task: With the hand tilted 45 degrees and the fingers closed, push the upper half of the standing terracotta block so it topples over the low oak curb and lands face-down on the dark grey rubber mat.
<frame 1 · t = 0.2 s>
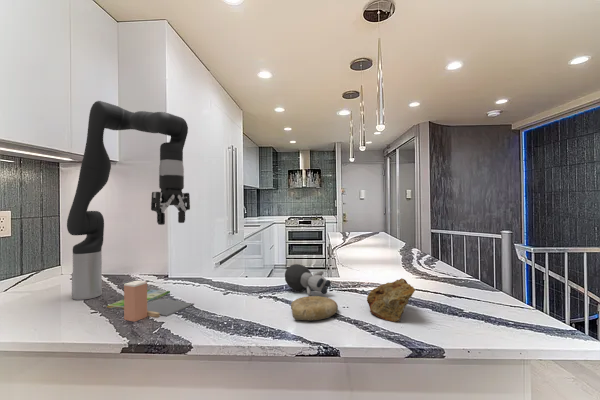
hand: (171, 223, 100), 29 cm above the counter, tool pointing down, fingers open, 8 cm apart
toy: (308, 292, 120), on the counter
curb: (144, 314, 97), on the counter
mat: (163, 307, 104), on the counter
block: (135, 318, 94), on the counter
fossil: (313, 314, 97), on the counter
rock: (387, 312, 97), on the counter
green flat panel: (140, 301, 113), on the counter
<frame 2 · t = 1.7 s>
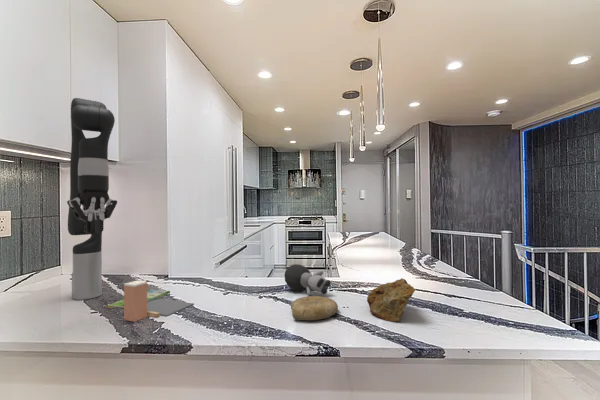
hand: (93, 233, 89), 27 cm above the counter, tool pointing down, fingers closed
nothing on the counter moved.
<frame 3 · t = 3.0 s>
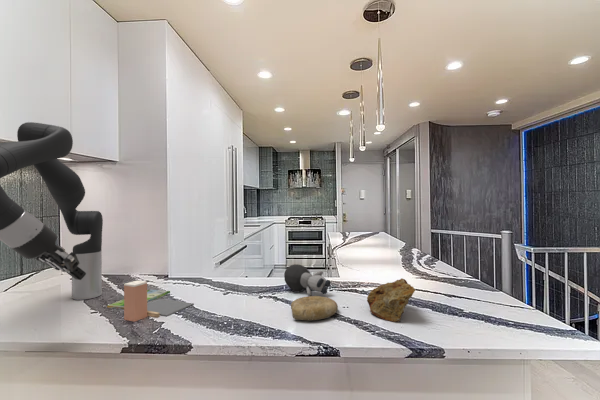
hand: (81, 276, 80), 17 cm above the counter, tool tilted 45°, fingers closed
nothing on the counter moved.
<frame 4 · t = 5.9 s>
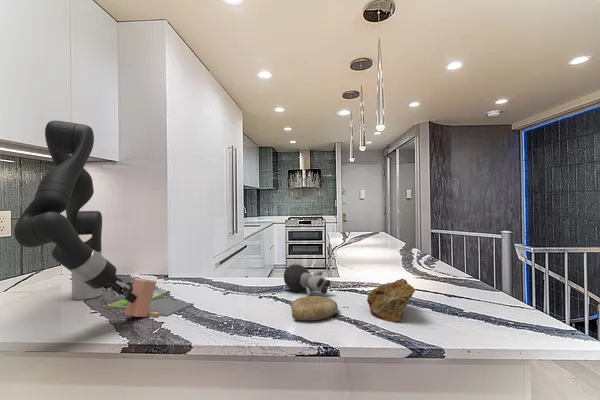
hand: (133, 299, 94), 6 cm above the counter, tool tilted 45°, fingers closed
block: (136, 315, 94), point 1 cm above the counter, tilted 19°, touching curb, gripper
everything else where it was.
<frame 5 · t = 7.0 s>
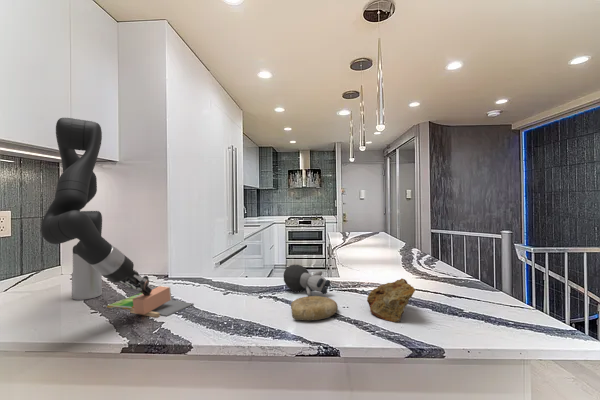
hand: (148, 292, 99), 7 cm above the counter, tool tilted 45°, fingers closed
block: (138, 306, 95), point 3 cm above the counter, tilted 82°, touching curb, gripper
everything else where it was.
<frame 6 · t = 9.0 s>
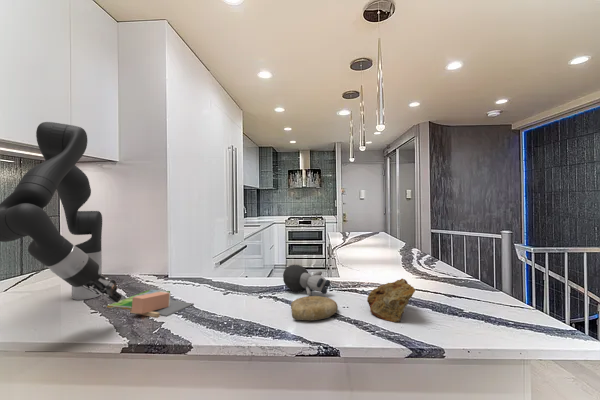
hand: (118, 299, 89), 8 cm above the counter, tool tilted 45°, fingers closed
block: (137, 305, 95), point 4 cm above the counter, tilted 96°, touching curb, mat
everything else where it was.
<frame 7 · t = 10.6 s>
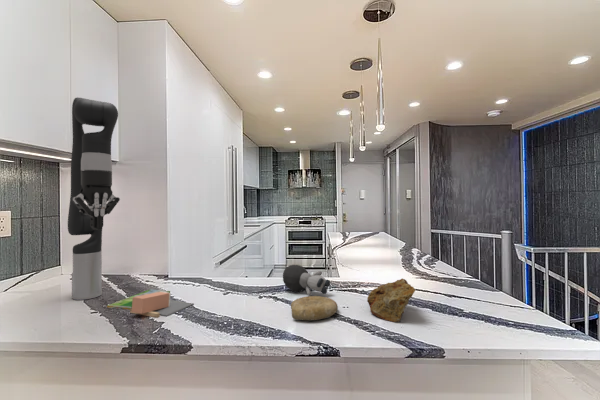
hand: (96, 229, 88), 28 cm above the counter, tool pointing down, fingers closed
nothing on the counter moved.
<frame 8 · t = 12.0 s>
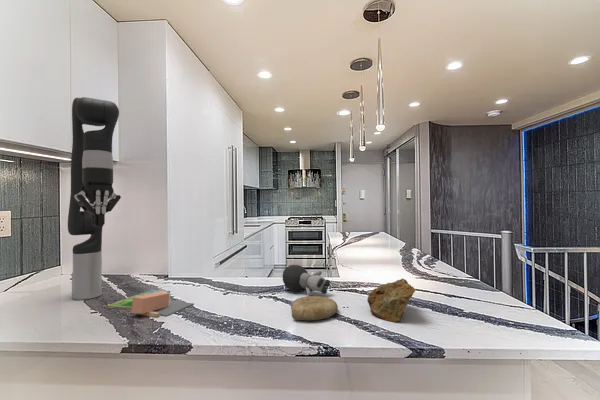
hand: (98, 226, 88), 29 cm above the counter, tool pointing down, fingers closed
nothing on the counter moved.
at the end: block tilted 96°; block inside the target area (6.5 cm from its centre), point 3.8 cm above the counter; block 10.0 cm from the mat (horizontally) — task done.
